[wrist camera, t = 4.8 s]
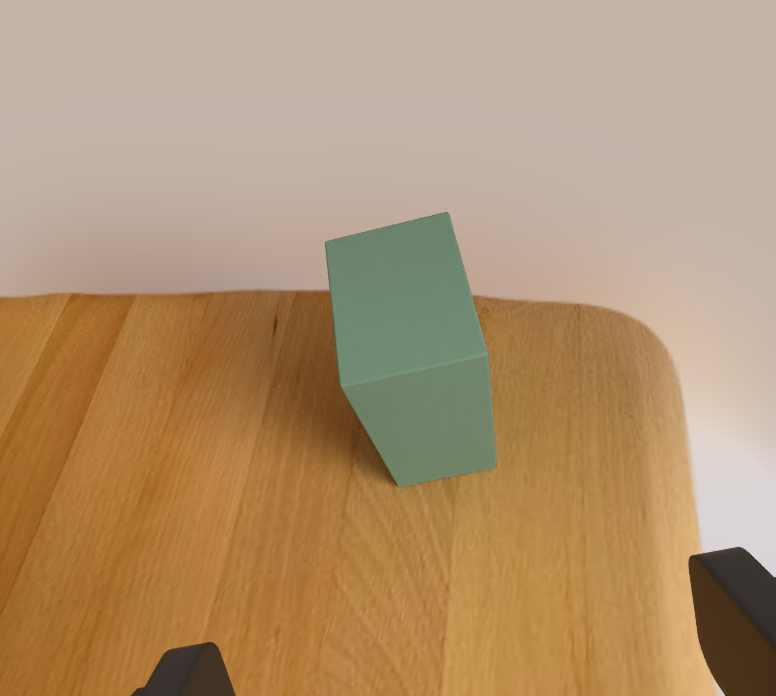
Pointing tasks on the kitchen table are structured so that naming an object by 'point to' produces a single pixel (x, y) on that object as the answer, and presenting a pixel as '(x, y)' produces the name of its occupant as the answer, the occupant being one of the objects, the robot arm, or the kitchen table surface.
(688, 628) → the kitchen table surface
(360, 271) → the back pad
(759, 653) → the robot arm
